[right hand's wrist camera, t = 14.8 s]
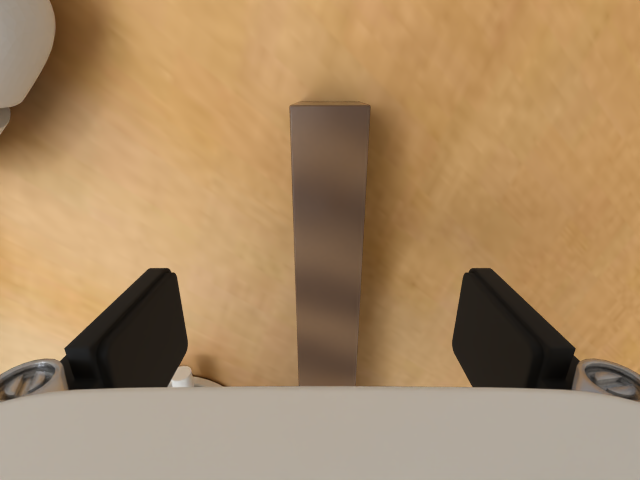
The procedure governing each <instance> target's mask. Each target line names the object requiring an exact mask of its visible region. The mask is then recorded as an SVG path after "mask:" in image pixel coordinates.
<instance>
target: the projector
mask: <svg viewBox="0 0 640 480" xmlns="http://www.w3.org/2000/svg"><path fill="white" fill-rule="evenodd" d="M54 37H55V15H54V11H53V8H52V5H51V3H50V1H49V0H0V134H1V133H2V131H3V130H4V128H5V127H6V126H7V124H8V123H9V120H10V109H9V107H12V106H15V105H18V104H20V103H21V102H22V101H23V100H24V98H25V97H26V95H27V94H28V92H29V91H30V89H31V88H32V86H33V85H34V83H35V81H36V80H37V78H38V76H39V75H40V73H41V71H42V69H43V67H44V65H45V64H46V62H47V59H48V57H49V55H50V52H51V50H52V46H53V42H54Z"/></svg>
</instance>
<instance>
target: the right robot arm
mask: <svg viewBox="0 0 640 480" xmlns="http://www.w3.org/2000/svg"><path fill="white" fill-rule="evenodd" d="M187 347H188V340H187V334H186V328H185V322H184V316H183V310H182V304H181V299H180V293H179V287H178V281H177V276H176V274H175V273H171V271H170V269H168V268H150V269H148V270H147V271H146V272H145V273H144V274H143V275H142V276H140V277H139V278H138V279H137V280H136V281H135V282H134V283H133V284H132V285H131V286H130V287H129V288H128V289H127V290H126V291H125V292H124V293H123V294H121V295H120V296H119V297H118V298H117V299H116V300H115V301H114V302H113V303H112V304H111V305H110V306H109V307H108V308H107V309H106V310H105V311H104V312H102V313H101V314H100V315H99V316H98V317H97V318H96V319H95V320H94V321H93V322H92V323H91V324H90V325H89V326H88V327H87V328H86V329H84V330H83V331H82V332H81V333H80V334H79V335H78V336H77V337H76V338H75V339H74V340H73V341H72V342H71V343H70V344H69V345H68V346H67V347H65V348H64V349H65V352H66V356H65V357H64V358H63V359H62V360H61V361H58V360H55V359H40V360H34V361H30V362H27V363H23V364H21V365H18V366H16V367H14V368H11V369H10V370H8V371H6V372H4V373H2V374H1V375H0V480H640V375H639V374H638V373H636V372H634V371H632V370H630V369H629V368H626V367H624V366H622V365H619V364H617V363H613V362H610V361H606V360H600V359H585V360H582V361H579V360H578V359H577V358H576V357H575V356H574V352H575V349H576V348H575V347H573V346H572V345H571V344H570V343H569V342H568V341H567V340H566V339H565V338H564V337H563V336H562V335H561V334H560V333H559V332H558V331H557V330H556V329H554V328H553V327H552V326H551V325H550V324H549V323H548V322H547V321H546V320H545V319H544V318H543V317H542V316H541V315H540V314H539V313H538V312H536V311H535V310H534V309H533V308H532V307H531V306H530V305H529V304H528V303H527V302H526V301H525V300H524V299H523V298H522V297H521V296H520V295H519V294H517V293H516V292H515V291H514V290H513V289H512V288H511V287H510V286H509V285H508V284H507V283H506V282H505V281H504V280H503V279H502V278H501V277H500V276H498V275H497V274H496V273H495V272H494V271H493V270H492V269H490V268H472V269H470V271H469V273H465V274H464V276H463V281H462V287H461V293H460V299H459V304H458V310H457V316H456V322H455V328H454V334H453V340H452V347H453V351H454V354H455V356H456V357H457V359H458V361H459V363H460V365H461V367H462V368H463V370H464V372H465V374H466V376H467V378H468V379H469V381H470V383H471V385H472V387H386V386H242V387H223V386H221V385H220V384H217V383H215V382H213V381H210V380H207V379H203V378H200V377H193V376H192V371H191V368H190V367H189V366H180V367H179V365H180V363H181V361H182V359H183V357H184V356H185V354H186V351H187Z"/></svg>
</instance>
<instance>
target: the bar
mask: <svg viewBox="0 0 640 480" xmlns="http://www.w3.org/2000/svg"><path fill="white" fill-rule="evenodd" d="M369 124H370V105H367V104H364V103H361V102H298V103H295V104H292V105H290V135H291V165H292V195H293V224H294V254H295V284H296V313H297V343H298V373H299V386H355V385H356V366H357V348H358V329H359V310H360V292H361V273H362V254H363V236H364V217H365V199H366V180H367V161H368V143H369Z"/></svg>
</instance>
